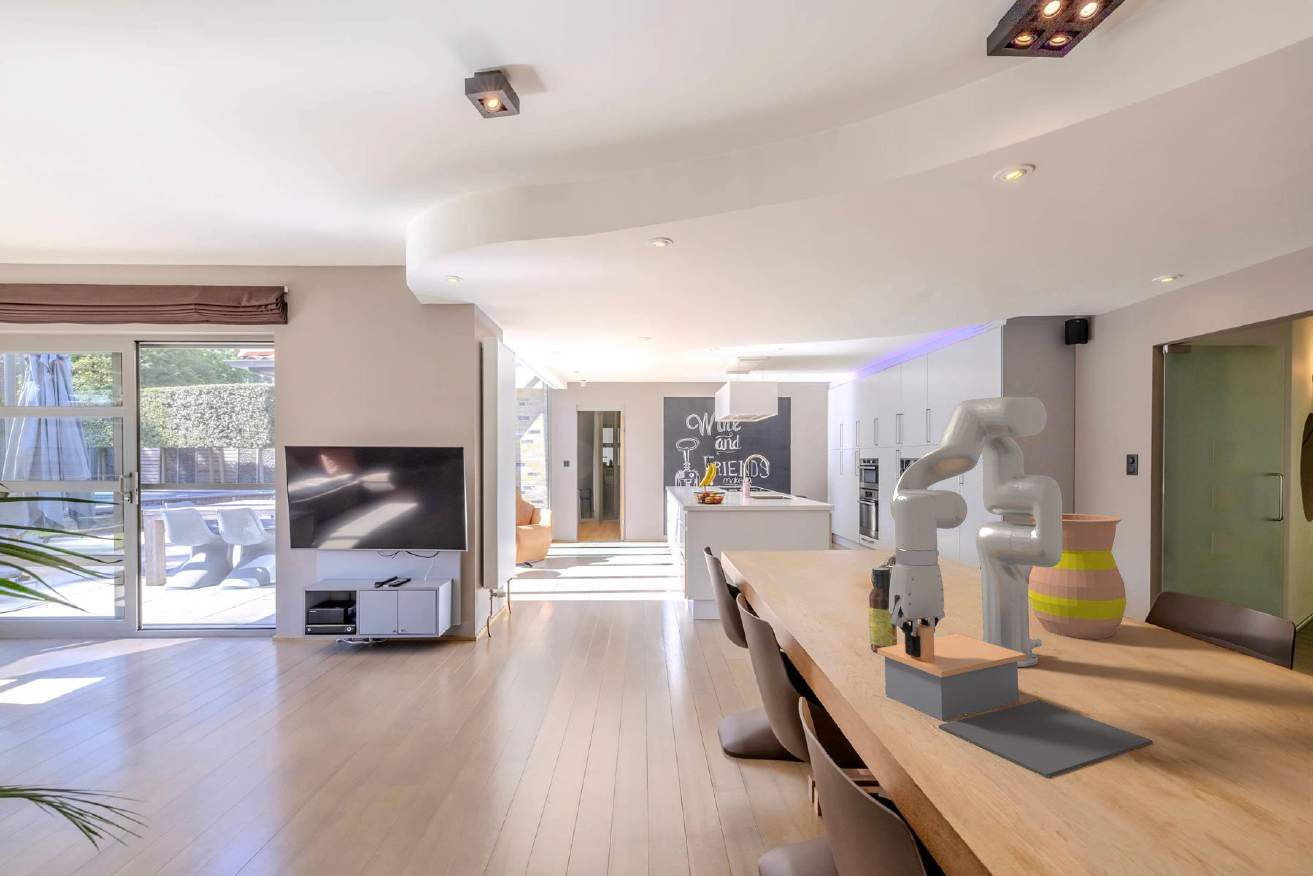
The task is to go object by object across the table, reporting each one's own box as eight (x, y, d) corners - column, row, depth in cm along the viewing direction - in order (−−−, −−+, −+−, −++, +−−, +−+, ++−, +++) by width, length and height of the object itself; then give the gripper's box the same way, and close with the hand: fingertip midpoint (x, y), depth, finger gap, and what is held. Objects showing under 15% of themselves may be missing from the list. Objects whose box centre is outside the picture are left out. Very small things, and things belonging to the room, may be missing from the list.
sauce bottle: (899, 655, 159) (897, 571, 159) (871, 654, 160) (869, 570, 160) (895, 647, 165) (893, 566, 165) (868, 646, 166) (866, 566, 167)
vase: (1016, 619, 189) (1013, 513, 190) (1100, 621, 186) (1096, 513, 187) (1050, 641, 167) (1047, 521, 168) (1146, 643, 164) (1142, 521, 165)
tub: (958, 679, 141) (957, 641, 141) (1018, 701, 128) (1017, 659, 128) (885, 695, 133) (884, 655, 133) (942, 720, 120) (940, 675, 120)
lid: (957, 645, 143) (956, 605, 143) (1026, 667, 128) (1024, 622, 128) (877, 661, 133) (876, 618, 134) (941, 686, 119) (940, 638, 119)
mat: (1038, 702, 128) (1038, 700, 128) (1152, 743, 109) (1152, 740, 109) (938, 727, 117) (938, 725, 117) (1046, 777, 99) (1046, 774, 99)
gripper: (932, 551, 135) (934, 643, 134) (869, 558, 128) (872, 655, 128) (963, 556, 128) (966, 653, 127) (899, 564, 121) (901, 666, 121)
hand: (919, 653), depth 127 cm, fingers closed on lid, 2 cm apart
